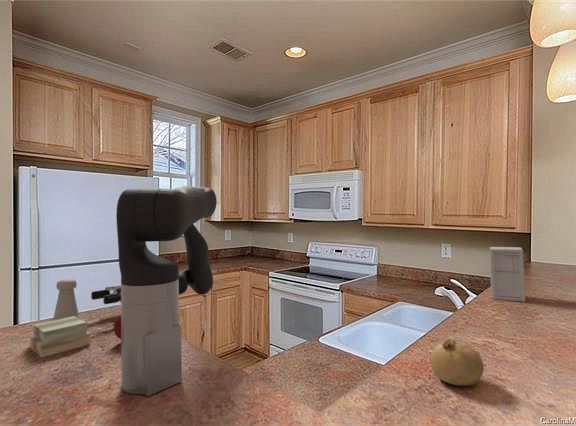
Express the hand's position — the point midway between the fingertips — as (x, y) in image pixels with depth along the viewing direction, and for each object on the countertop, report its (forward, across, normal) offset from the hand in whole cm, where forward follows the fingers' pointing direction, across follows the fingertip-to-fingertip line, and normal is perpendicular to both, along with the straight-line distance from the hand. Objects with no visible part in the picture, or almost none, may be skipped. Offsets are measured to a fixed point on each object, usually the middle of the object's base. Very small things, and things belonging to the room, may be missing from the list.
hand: (97, 298), depth 89 cm
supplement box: (-97, +84, +7) cm, 128 cm away
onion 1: (+1, +21, +7) cm, 22 cm away
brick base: (+12, +11, +7) cm, 17 cm away
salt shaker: (+7, 0, +7) cm, 10 cm away
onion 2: (-25, +84, +7) cm, 88 cm away
